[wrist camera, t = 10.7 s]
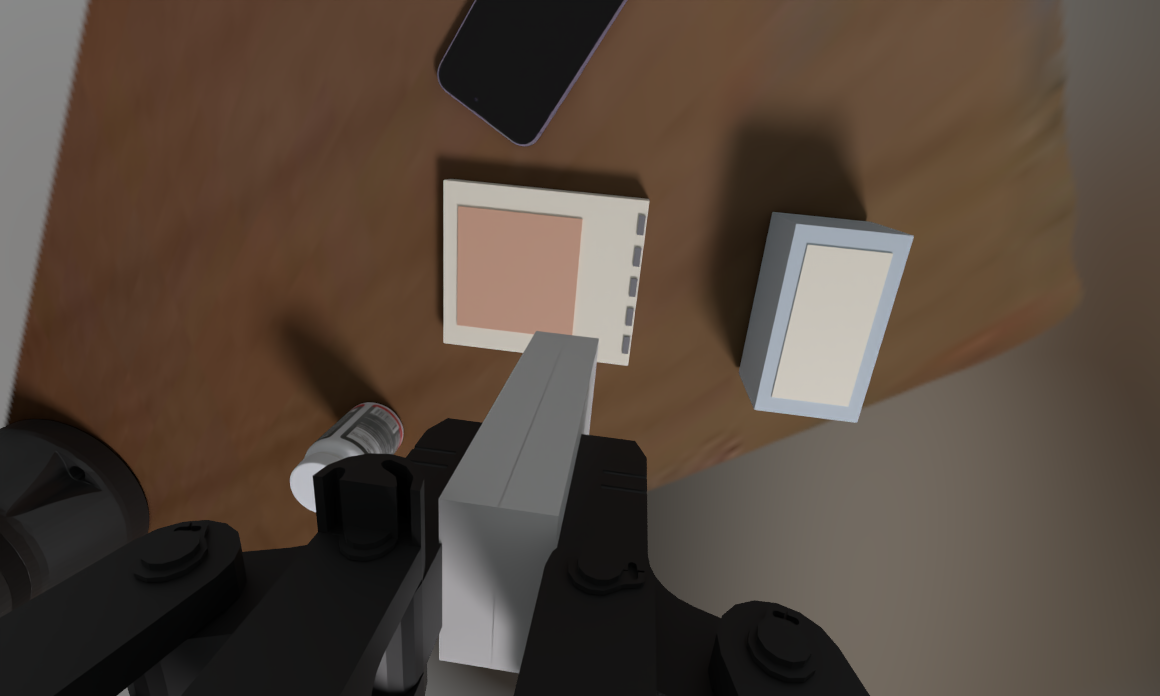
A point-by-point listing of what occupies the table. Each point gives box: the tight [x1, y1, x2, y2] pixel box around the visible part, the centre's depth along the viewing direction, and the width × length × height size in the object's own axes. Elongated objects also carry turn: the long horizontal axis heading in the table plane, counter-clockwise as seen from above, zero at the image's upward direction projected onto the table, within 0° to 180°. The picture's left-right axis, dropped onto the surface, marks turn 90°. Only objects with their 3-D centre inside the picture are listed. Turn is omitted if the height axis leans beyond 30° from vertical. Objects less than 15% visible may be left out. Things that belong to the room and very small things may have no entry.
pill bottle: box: [290, 402, 403, 512], centre depth 39 cm, size 5×5×8 cm
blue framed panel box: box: [739, 212, 914, 423], centre depth 33 cm, size 6×11×6 cm, turn 175°
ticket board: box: [443, 179, 649, 366], centre depth 36 cm, size 13×11×2 cm
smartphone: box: [437, 0, 627, 146], centre depth 32 cm, size 7×1×15 cm
